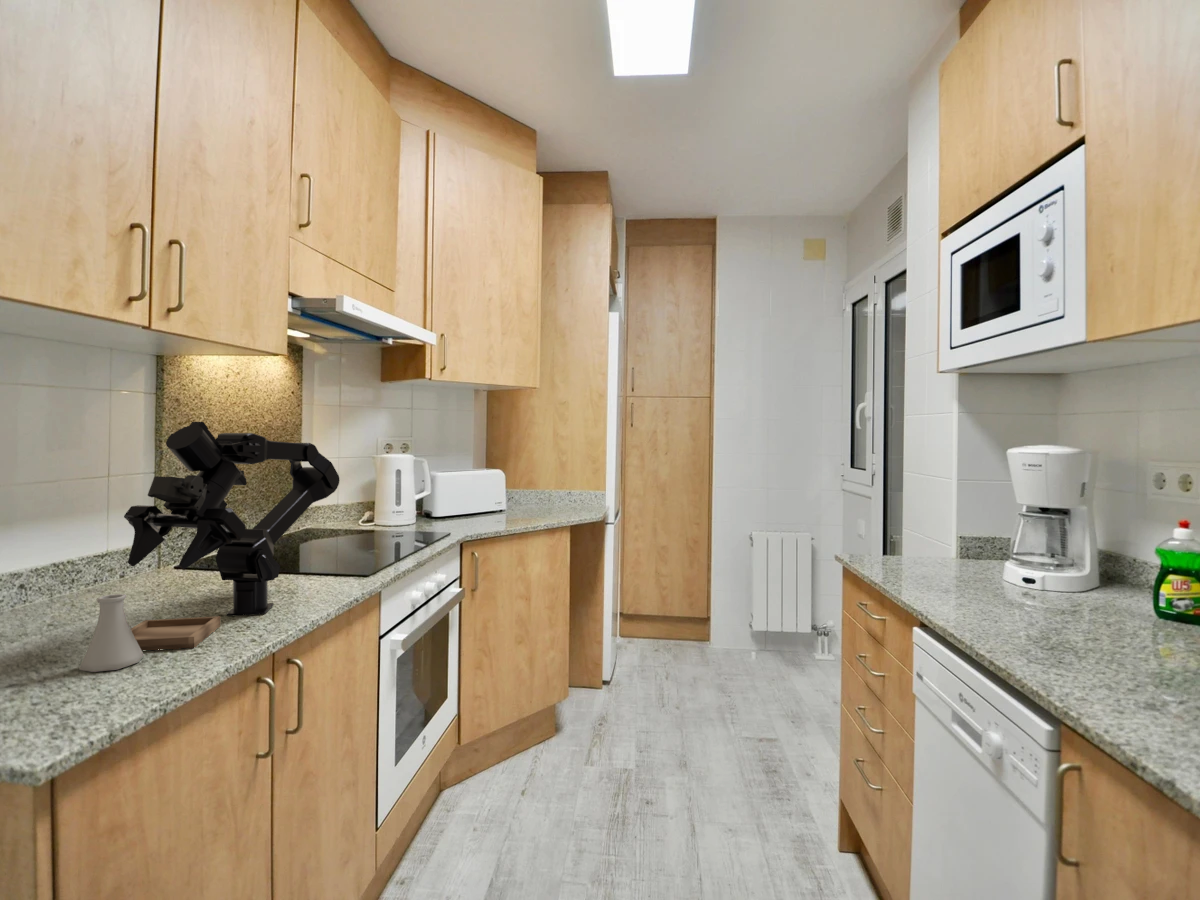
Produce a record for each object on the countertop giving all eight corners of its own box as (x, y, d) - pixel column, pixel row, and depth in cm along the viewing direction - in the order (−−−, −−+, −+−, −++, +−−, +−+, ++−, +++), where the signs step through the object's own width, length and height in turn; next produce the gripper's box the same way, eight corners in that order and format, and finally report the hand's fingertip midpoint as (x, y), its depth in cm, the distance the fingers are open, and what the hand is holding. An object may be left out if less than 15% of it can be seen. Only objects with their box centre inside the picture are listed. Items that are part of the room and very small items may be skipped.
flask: (154, 655, 96) (153, 590, 96) (119, 673, 88) (119, 602, 88) (105, 656, 95) (104, 590, 95) (66, 674, 88) (65, 602, 88)
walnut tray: (144, 630, 108) (144, 620, 108) (220, 626, 110) (220, 616, 110) (109, 653, 96) (109, 641, 96) (194, 648, 99) (194, 636, 99)
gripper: (132, 457, 105) (68, 534, 95) (232, 458, 102) (176, 538, 92) (173, 499, 113) (118, 574, 103) (266, 501, 110) (219, 579, 100)
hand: (155, 566), depth 99 cm, fingers open, 9 cm apart
